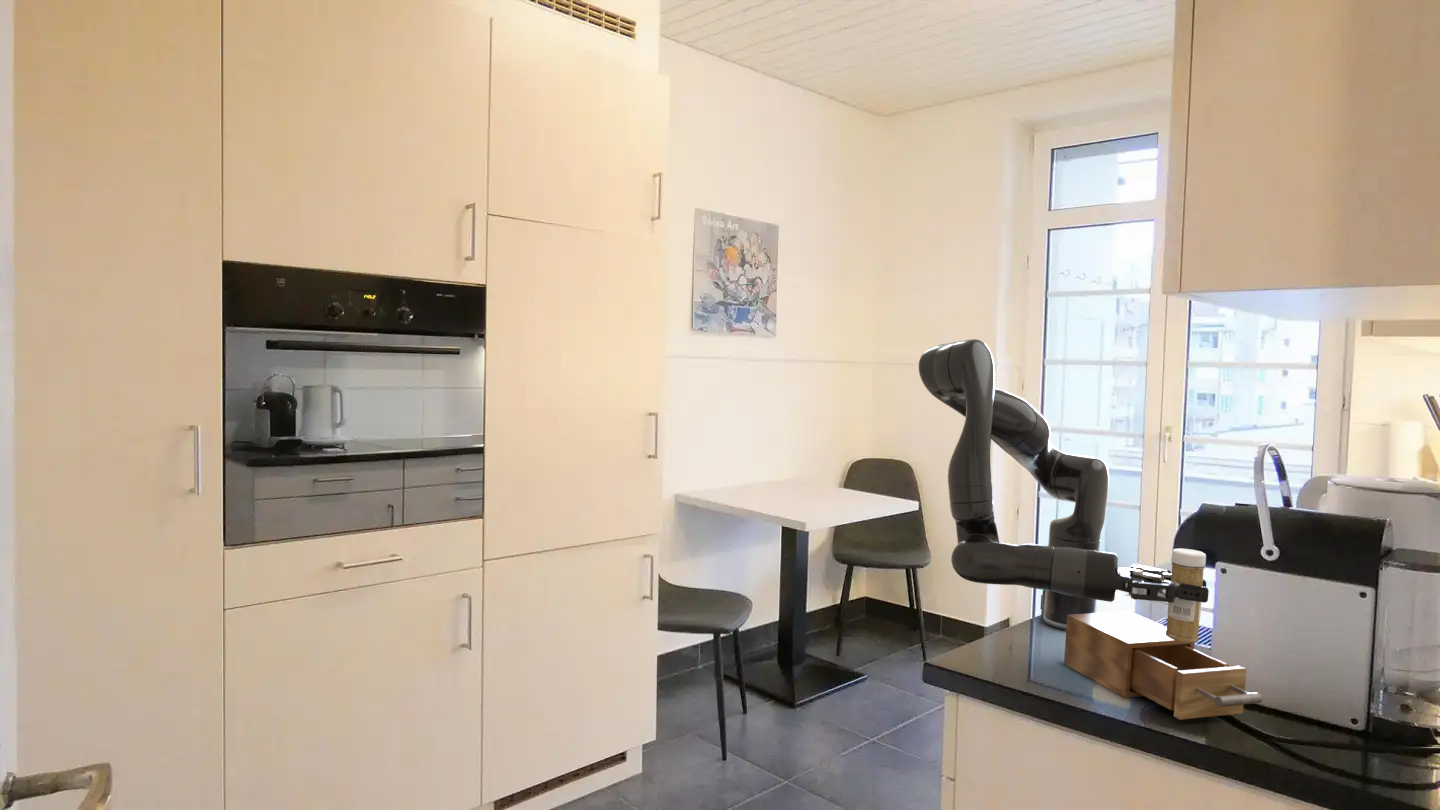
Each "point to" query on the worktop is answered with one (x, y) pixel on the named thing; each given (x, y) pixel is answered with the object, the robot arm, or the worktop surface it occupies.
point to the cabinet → (1111, 646)
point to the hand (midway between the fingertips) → (1206, 591)
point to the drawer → (1189, 681)
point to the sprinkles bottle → (1183, 611)
